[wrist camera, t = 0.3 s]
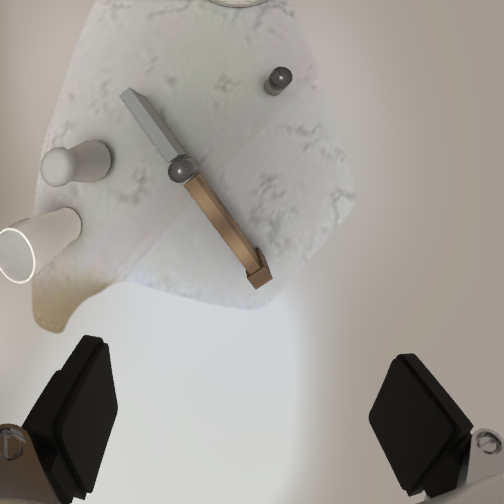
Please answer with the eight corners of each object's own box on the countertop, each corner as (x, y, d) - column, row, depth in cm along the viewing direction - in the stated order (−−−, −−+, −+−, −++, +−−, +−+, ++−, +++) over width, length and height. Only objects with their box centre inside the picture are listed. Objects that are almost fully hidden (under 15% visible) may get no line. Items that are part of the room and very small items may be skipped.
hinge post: (177, 164, 41) (163, 169, 32) (191, 154, 40) (181, 155, 31) (187, 178, 41) (176, 187, 32) (201, 168, 41) (194, 173, 32)
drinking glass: (82, 197, 41) (26, 222, 27) (91, 242, 43) (42, 281, 29) (46, 206, 40) (-13, 232, 26) (56, 248, 43) (3, 286, 28)
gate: (188, 181, 41) (179, 188, 33) (202, 170, 40) (197, 175, 33) (250, 266, 45) (255, 289, 38) (264, 257, 45) (272, 278, 38)
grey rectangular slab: (137, 104, 37) (119, 95, 30) (146, 97, 37) (129, 87, 30) (178, 160, 41) (167, 163, 33) (187, 153, 40) (178, 154, 33)
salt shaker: (84, 137, 38) (36, 137, 26) (119, 143, 39) (79, 143, 27) (77, 177, 40) (29, 190, 27) (111, 184, 41) (70, 199, 28)
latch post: (260, 84, 38) (267, 73, 31) (275, 76, 38) (284, 63, 31) (270, 98, 39) (279, 89, 32) (285, 90, 39) (296, 79, 32)
